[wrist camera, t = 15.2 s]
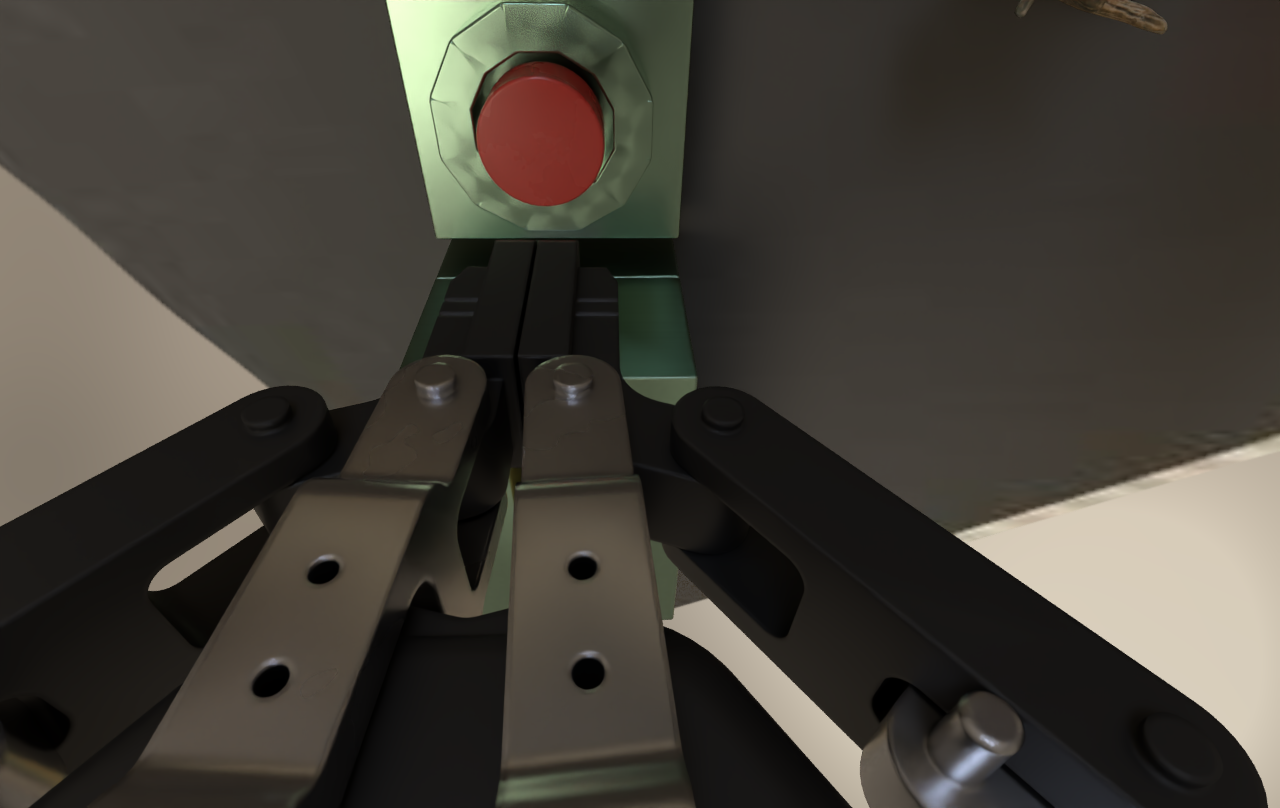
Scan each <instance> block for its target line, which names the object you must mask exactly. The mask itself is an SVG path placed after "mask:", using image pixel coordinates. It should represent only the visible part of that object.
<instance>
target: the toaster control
mask: <svg viewBox="0 0 1280 808" xmlns="http://www.w3.org/2000/svg"><path fill="white" fill-rule="evenodd" d="M385 4H386V8H387V13H388V18H389V22H390V27H391V32H392V36H393V41H394V46H395V50H396V55H397V60H398V64H399V69H400V74H401V78H402V83H403V88H404V92H405V97H406V102H407V106H408V111H409V116H410V120H411V125H412V130H413V134H414V139H415V144H416V148H417V153H418V158H419V162H420V167H421V172H422V176H423V181H424V186H425V190H426V195H427V200H428V204H429V209H430V214H431V218H432V223H433V228H434V232H435V237H436V239H576V238H678V237H679V228H680V212H681V197H682V181H683V165H684V150H685V134H686V119H687V103H688V88H689V72H690V57H691V41H692V26H693V10H694V0H385ZM533 61H545V62H551V63H556V64H559V65H561V66H564V67H566V68H568V69H570V70H572V71H573V72H574V73H576V74H577V75H579V76H580V77H581V78H582V79H583V80H584V81H585V82H586V83H587V84H588V85H589V87H590V88H591V89H592V91H593V92H594V94H595V95H596V97H597V99H598V101H599V103H600V106H601V109H602V113H603V118H604V127H605V149H604V158H603V163H602V166H601V169H600V172H599V174H598V176H597V178H596V179H595V181H594V182H593V184H592V185H591V186H590V187H589V188H588V189H587V190H586V191H585V192H584V193H583V194H582V195H580V196H579V197H577V198H576V199H574V200H572V201H570V202H567V203H564V204H561V205H556V206H536V205H531V204H528V203H524V202H522V201H520V200H517V199H515V198H514V197H512V196H510V195H509V194H507V193H506V192H505V191H503V190H502V189H501V188H500V187H499V186H498V185H497V184H496V183H495V182H494V181H493V180H492V178H491V177H490V176H489V174H488V173H487V171H486V169H485V167H484V165H483V163H482V161H481V158H480V155H479V152H478V147H477V139H476V131H477V123H478V118H479V115H480V112H481V110H482V108H483V106H484V104H485V102H486V100H487V98H488V96H489V94H490V92H491V90H492V88H493V86H494V85H495V83H496V82H497V81H498V79H499V78H500V77H501V76H502V75H503V74H505V73H506V72H507V71H508V70H510V69H512V68H514V67H515V66H518V65H520V64H523V63H527V62H533Z"/></svg>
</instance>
